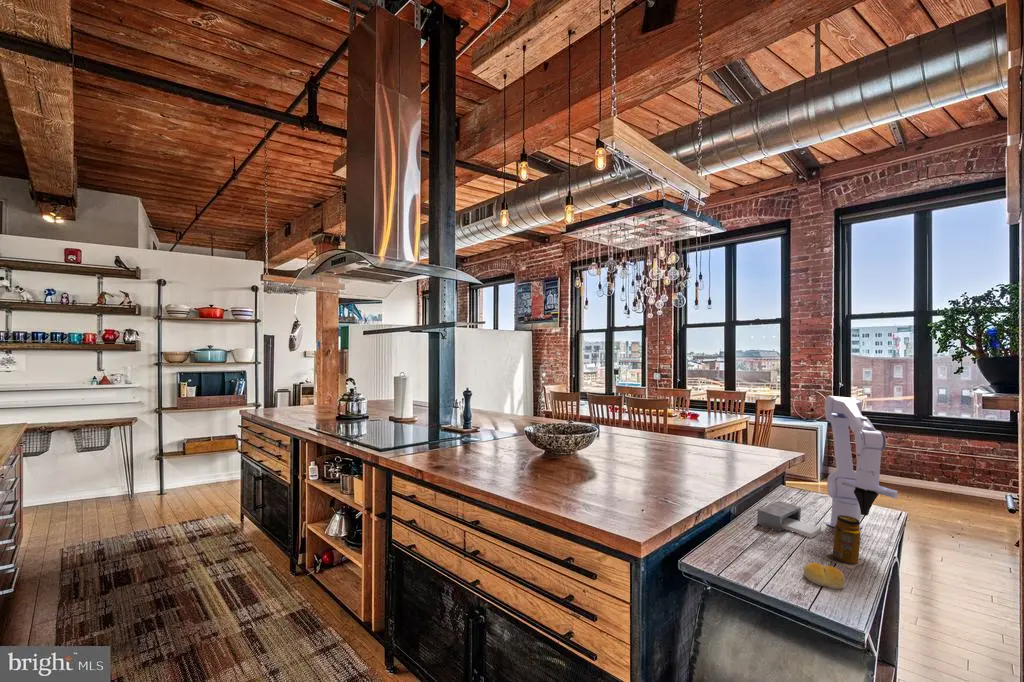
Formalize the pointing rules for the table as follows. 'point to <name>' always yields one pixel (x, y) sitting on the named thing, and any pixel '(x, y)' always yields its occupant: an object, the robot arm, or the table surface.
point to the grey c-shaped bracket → (777, 514)
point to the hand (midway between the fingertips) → (864, 514)
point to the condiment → (846, 542)
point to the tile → (800, 527)
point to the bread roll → (824, 575)
